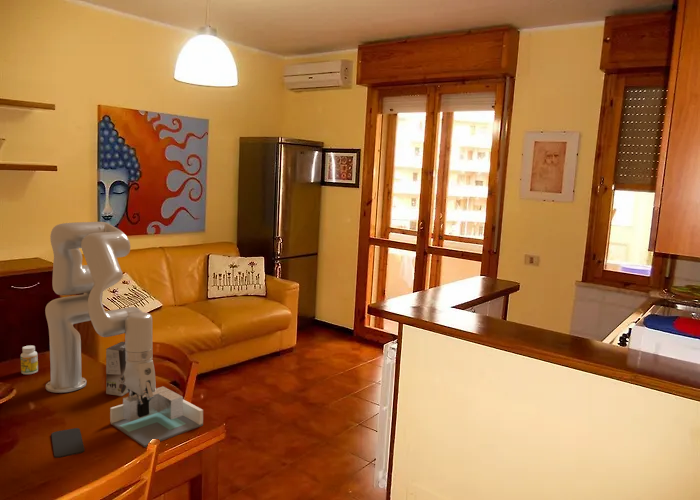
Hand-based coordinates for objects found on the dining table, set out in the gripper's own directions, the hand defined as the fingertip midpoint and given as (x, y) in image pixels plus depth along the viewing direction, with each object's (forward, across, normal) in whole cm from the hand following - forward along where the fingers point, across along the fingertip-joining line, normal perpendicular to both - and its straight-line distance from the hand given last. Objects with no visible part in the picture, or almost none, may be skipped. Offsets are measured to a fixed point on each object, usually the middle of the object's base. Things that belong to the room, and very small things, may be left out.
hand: (139, 412), depth 162 cm
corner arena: (+4, -3, -4) cm, 6 cm away
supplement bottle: (+4, +66, +7) cm, 67 cm away
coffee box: (+4, +28, -9) cm, 30 cm away
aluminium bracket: (+1, -4, -3) cm, 4 cm away
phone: (+5, +4, +19) cm, 20 cm away
